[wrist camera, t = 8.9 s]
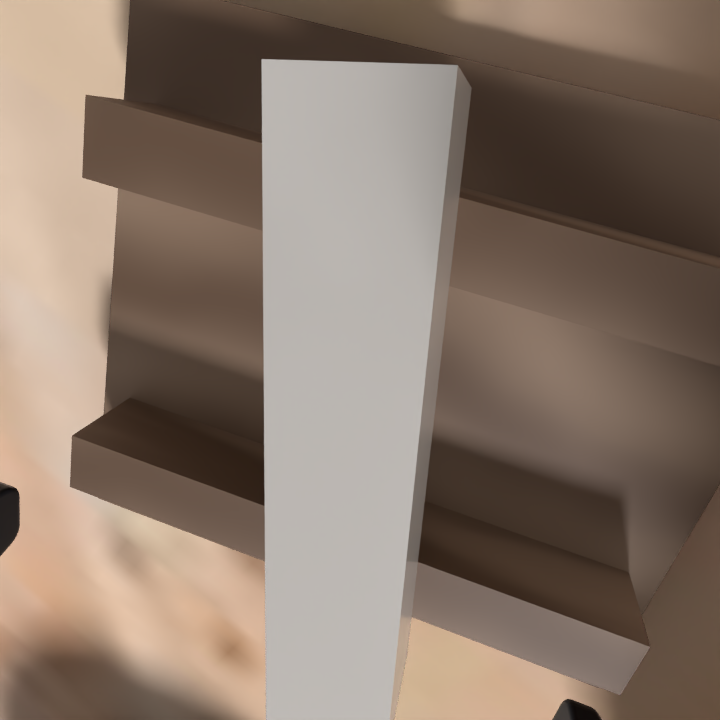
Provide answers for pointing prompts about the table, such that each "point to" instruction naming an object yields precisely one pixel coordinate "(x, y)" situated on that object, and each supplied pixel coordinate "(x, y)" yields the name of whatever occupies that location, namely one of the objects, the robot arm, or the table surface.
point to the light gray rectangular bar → (351, 366)
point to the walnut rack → (460, 341)
